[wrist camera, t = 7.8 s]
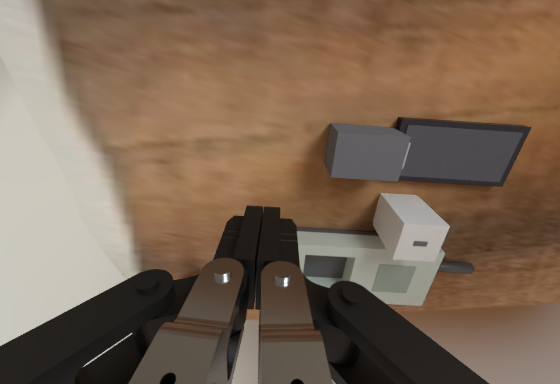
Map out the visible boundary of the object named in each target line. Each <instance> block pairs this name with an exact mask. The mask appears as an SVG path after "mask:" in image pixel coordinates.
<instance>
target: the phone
mask: <svg viewBox="0 0 560 384" xmlns="http://www.w3.org/2000/svg"><path fill="white" fill-rule="evenodd" d="M396 130H398V131H400V132H402V133H404V134H406V135H408V136H410V137H411V139H410V143H411V144H410V147H409V150H408V154H407V157H406V160H405V164H404V167H403V169H402V170H401V173H400V176H399V180H405V181H421V182H437V183H453V184H469V185H485V186H501V187H502V186H503V184H504V182H505V180H506V178H507V176H508V174H509V172H510V170H511V168H512V166H513V164H514V162H515V160H516V158H517V156H518V154H519V152H520V150H521V148H522V146H523V144H524V142H525V140H526V138H527V136H528V134H529V132H530V130H531V127H528V126H523V125H508V124H494V123H479V122H464V121H450V120H435V119H420V118H406V117H399V118H398V122H397V125H396Z"/></svg>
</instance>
